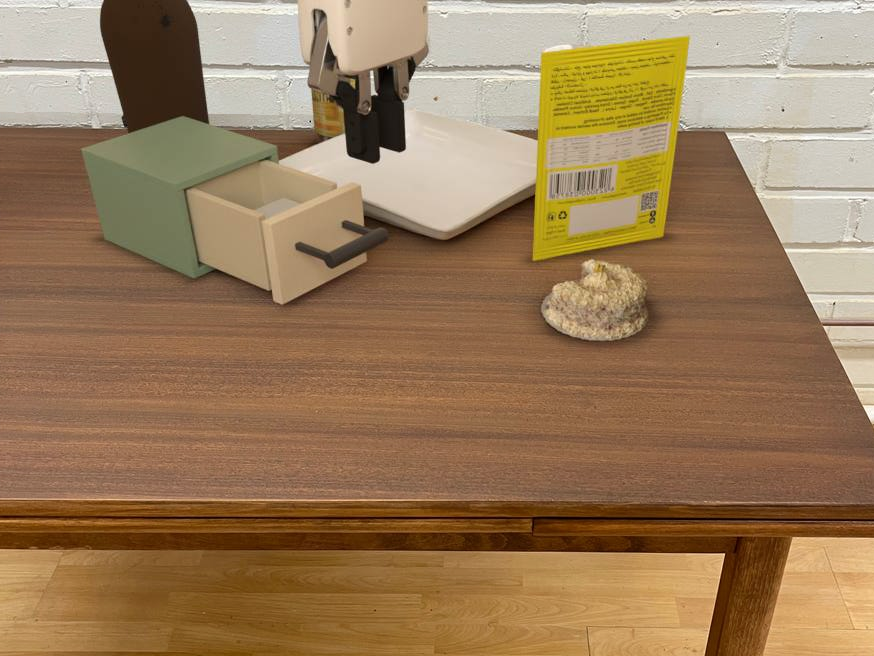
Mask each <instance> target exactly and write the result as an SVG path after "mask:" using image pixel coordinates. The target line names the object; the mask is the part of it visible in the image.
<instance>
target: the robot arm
mask: <svg viewBox="0 0 874 656" xmlns="http://www.w3.org/2000/svg"><path fill="white" fill-rule="evenodd" d="M428 5H429V3H428V0H297V15H298V17H297V18H298V30H299V31H298V32H299V43H300V50H301V56H302V60H303V62H304V63H305V65H307V66H309V65H310V66H309V69H308V70H309V71H308V76H307V86H308V88H309V89H314V90H317V91H320V92H323V93H327V94H328V95H329V96H330V97H331V98H333V99H334V100H335V101H336V105H337V107H338V108H341V109H343V114H344V126H345V138H346V150H347V154H348V156H349V157H352V158H355V159H358V160H362V161H365V162H368V163H371V164H374V163H377V162H379V160H380V147H381V148H385V149H388V150H392V151H395V152H398V153H400V152H403V151H405V150H406V137H405V114H404V112H405V101H407V99H408V98H409V97H410V82H411V80H412V78H413V76H414V74H415V72H416V69H417V68H418V67H419V65H420V64H421V63H422V62H423V61H424V60H425V59H426V58H427V56H428V55H429V52H430V49H429V48H430V47H429V44H428V36H429V35H428V34H429V6H428ZM333 70H334V74H333ZM371 71H372V74H373V75H372V76H373V86H374V87H373V88H374V92H375V93H376V94H373V95H372V84H371V83H372V81H371V80H372V79H371ZM350 79H354V80H355V89H354V87H353V86H352V85H351V84H350Z"/></svg>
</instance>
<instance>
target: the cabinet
mask: <svg viewBox="0 0 874 656" xmlns="http://www.w3.org/2000/svg"><path fill="white" fill-rule="evenodd" d="M80 150H81V154H82V159H83V163H84V165H85V166H84V167H85V169H86V173H87V178H88V181H89V185H90V190H91V193H92V196H93V201H94V205H95V208H96V212H97V217H98V220H99V224H100V228H101V232H102V235H103V240H105V241H107V242H110V243H112V244H114V245H117V246H118V247H120V248H121V247H122V248H123V249H125V250H128V251H130V252H132V253H135V254H138V255H139V256H141V257H144V258H146V259H148V260H151V261H152V262H155V263H157V264H160V265H162V266H164V267H167V268H169V269H171V270H173V271H176V272H178V273H181V274H182V275H185V276H187V277H190V278H191V279H193V280H195V279H197V278H199V277H201V276H203V275H206V274H208V273H210V272H212V271H214V270H217V269H216V268H214V267H211V266H209V265H207V264H204V263H202V262H200V261H197V256H196V251H195V246H194V241H193V236H192V231H191V226H190V221H189V216H188V210H187V205H186V200H185V195H184V190H183V189H185V188H188V187H191V186H193V185H196V184H198V183H201V182H204V181H206V180H209V179H212V178H214V177H217V176H219V175H222V174H225V173H227V172H230V171H233V170H235V169H238V168H240V167H243V166H246V165H248V164H251V163H254V162H256V161H259V160H261V159H265V160H268V161H271V162H274V163H278V164H279V160H280V159H279V154H278V146H277V145H275V144H272V143H269V142H266V141H263V140H259V139H256V138H253V137H251V136H248V135H244V134H241V133H237V132H235V131H232V130H228V129H225V128H222V127H218V126H216V125H212V124H210V123H209V124H206V123H203V122H200V121H197V120H194V119H191V118H188V117H184V116H181V117H178V118H175V119H172V120H169V121H166V122H163V123H160V124H156V125H153V126H150V127H147V128H144V129H141V130H138V131H135V132H132V133H126V134H125V133H124V134H122V135H120V136H116V137H113V138H110V139H107V140H104V141H101V142H98V143H95V144H91V145H89V146H85V147H83V148H80Z"/></svg>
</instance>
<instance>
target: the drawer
mask: <svg viewBox="0 0 874 656" xmlns="http://www.w3.org/2000/svg"><path fill="white" fill-rule="evenodd" d="M183 190H184V195H185V200H186V205H187V210H188V216H189V221H190V226H191V231H192V236H193V241H194V246H195V251H196V256H197V261H200V262H202V263H204V264H207V265H209V266H211V267H214V268H216V269H215V270H218V271H221V272H223V273H226V274H228V275H231V276H233V277H235V278H237V279H239V280H242V281H244V282H246V283H249V284H251V285H254V286H256V287H258V288H261V289H263V290H266V291H268V292H270V291H271V294H272V300H273V301H272V302H275V303H277V304H280V305H281V306H282V305H285V304H287V303H290V302H291V301H293V300H294V299H296V298H298V297H300V296H302V295H304V294H306V293H308V292H310V291H312V290H314V289H316V288H317V287H319V286H322V285H323V284H325V283H327V282H329V281H331V280H333V279H335V278H337V277H339V276H341V275H344V274H345V273H347V272H348V271H349V272H350V270H353V269H354V268H356V267H358V266H360V265H362V264H364V263H366V262H367V261H368V256H367V252H369V251H371V250H373V249H375V248H377V247H379V246H381V245H383V244H385V243H386V242H388V240H389V234H388V231H387V230H386V229H385V228H384V227H377V228H376V229H372V228H369V227H366V226H365V219H364V215H363V204H362V190H361V185H360V184H356V183H353V182H351V183H349V184H346V185H344V186H342V187H340V188H337V183H335V182H332V181H329V180H326V179H323V178H320V177H317V176H314V175H311V174H308V173H305V172H302V171H299V170H296V169H293V168H290V167H287V166H284V165H281V164H278V163H274V162H271V161H268V160H265V159H261V160H259V161H256V162H254V163H251V164H248V165H246V166H243V167H240V168H238V169H235V170H233V171H230V172H227V173H225V174H222V175H219V176H217V177H214V178H212V179H209V180H206V181H204V182H201V183H198V184H196V185H193V186H191V187H188V188H185V189H183ZM282 198H286V199H289V200H292V201H295V202H297V203H300V205H298V206H296V207H293V208H291V209H289V210H287V211H284V212H282V213H280V214H277V215H275V216H273V217H270V218H268V219H266V220H265V217H264V214H262V213H259V212H257V211H254V210H256V209H258V208H260V207H263V206H265V205H267V204H270V203H272V202H275V201H277V200H279V199H282Z"/></svg>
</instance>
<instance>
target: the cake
mask: <svg viewBox="0 0 874 656" xmlns="http://www.w3.org/2000/svg"><path fill="white" fill-rule="evenodd" d="M635 272H636V271H634V270H633V267H629V266H627V267H626V266H625V264H620V263H619V264H617V263H614V262H607V261H604V259H601V260H600V259H599V260H598V259H597V260H595V259H592V258H591V259H589V260H585V261H584V262H582V263H581V272H580V273H581V278H579V281H578V280H576V279H574V280H571V281H570V280H566V281H564V282H560V283H557V284H555V285H553V287H552V290H551V292H549V294H548V295H546V296H545V298H544V299H543V300H542V303H541V304H540V305H541V306H540V307H541V309H540V312H541V313H542V317H543V318H544V319H545V322H547V323H548V324H549V325H550V326H551V327H552V328H554V329H555V330H557V331H558V332H561V333H562V334H564V335H568V336H570V337H572V338H579V339H581V340H586V341H587V340H588V341H592V342H593V341H595V342H596V341H600V342H606V341H609V342H613V341H616V340H623V339H625V338H630V337H632V336H636V334H638V333H639V332H641V331H642V330H643V328H646V325H647V323H648V322H649V318H650V316H649V311H648V310H647V307H646V306H647V305H646V301H647V295H648V291H649V288H650V287H648V285H649V282H648V280H646V279H645V278H644V277H643V276H642V275H641V274H640V273H635Z"/></svg>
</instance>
